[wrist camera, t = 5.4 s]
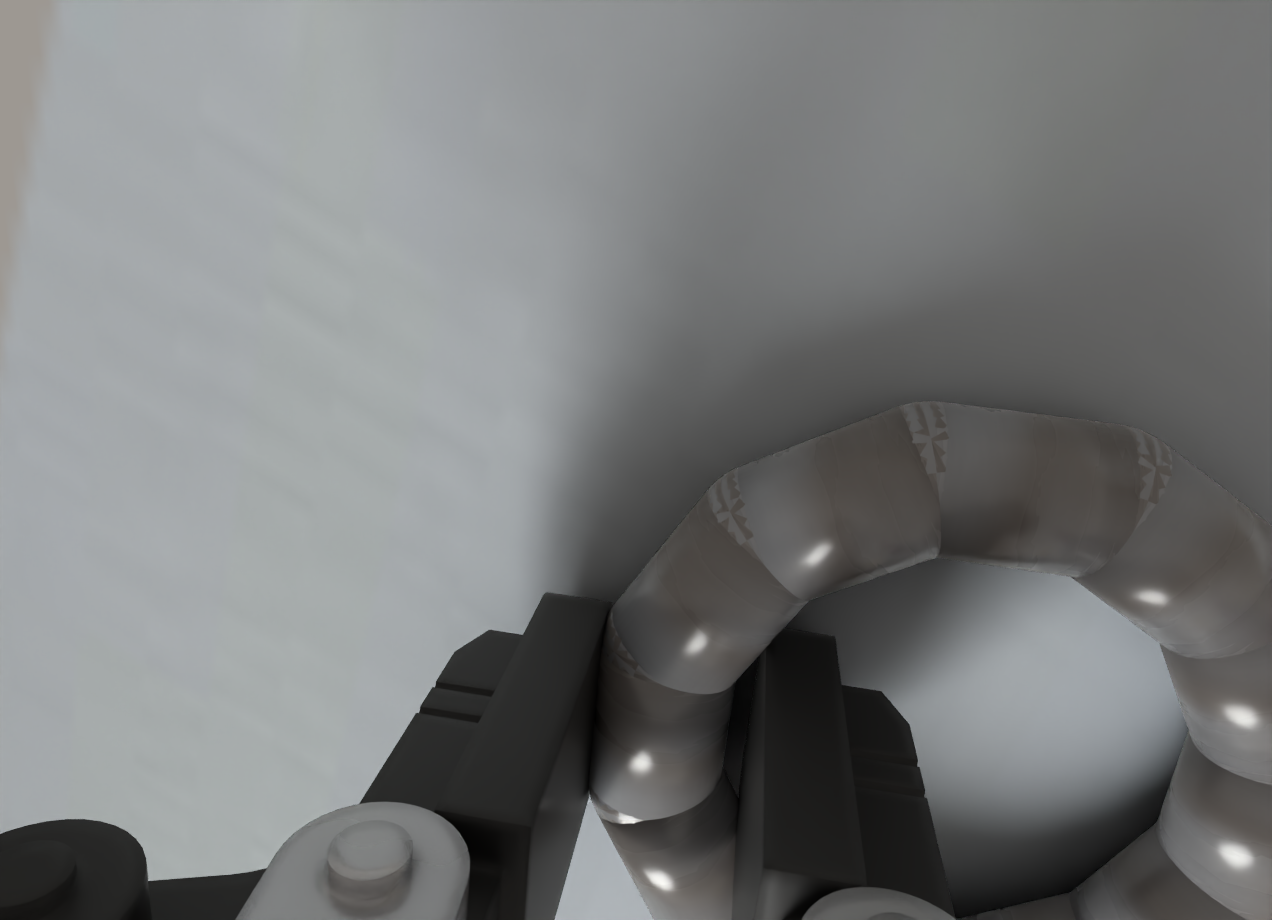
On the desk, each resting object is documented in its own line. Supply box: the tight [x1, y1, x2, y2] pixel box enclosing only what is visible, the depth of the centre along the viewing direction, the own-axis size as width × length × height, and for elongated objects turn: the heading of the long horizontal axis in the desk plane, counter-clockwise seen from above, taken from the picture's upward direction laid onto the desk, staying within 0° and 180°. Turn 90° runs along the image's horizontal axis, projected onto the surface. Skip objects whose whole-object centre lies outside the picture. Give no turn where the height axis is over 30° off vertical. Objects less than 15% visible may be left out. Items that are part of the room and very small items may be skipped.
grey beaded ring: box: [589, 401, 1272, 920], centre depth 9 cm, size 7×7×1 cm
